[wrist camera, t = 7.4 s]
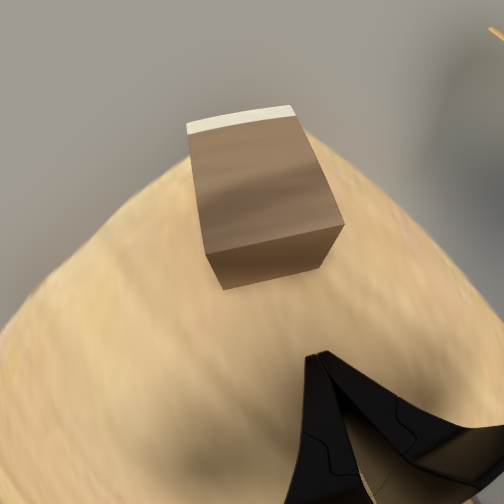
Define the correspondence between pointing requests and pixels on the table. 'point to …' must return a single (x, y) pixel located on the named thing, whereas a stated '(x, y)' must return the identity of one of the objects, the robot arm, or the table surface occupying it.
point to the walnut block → (260, 196)
